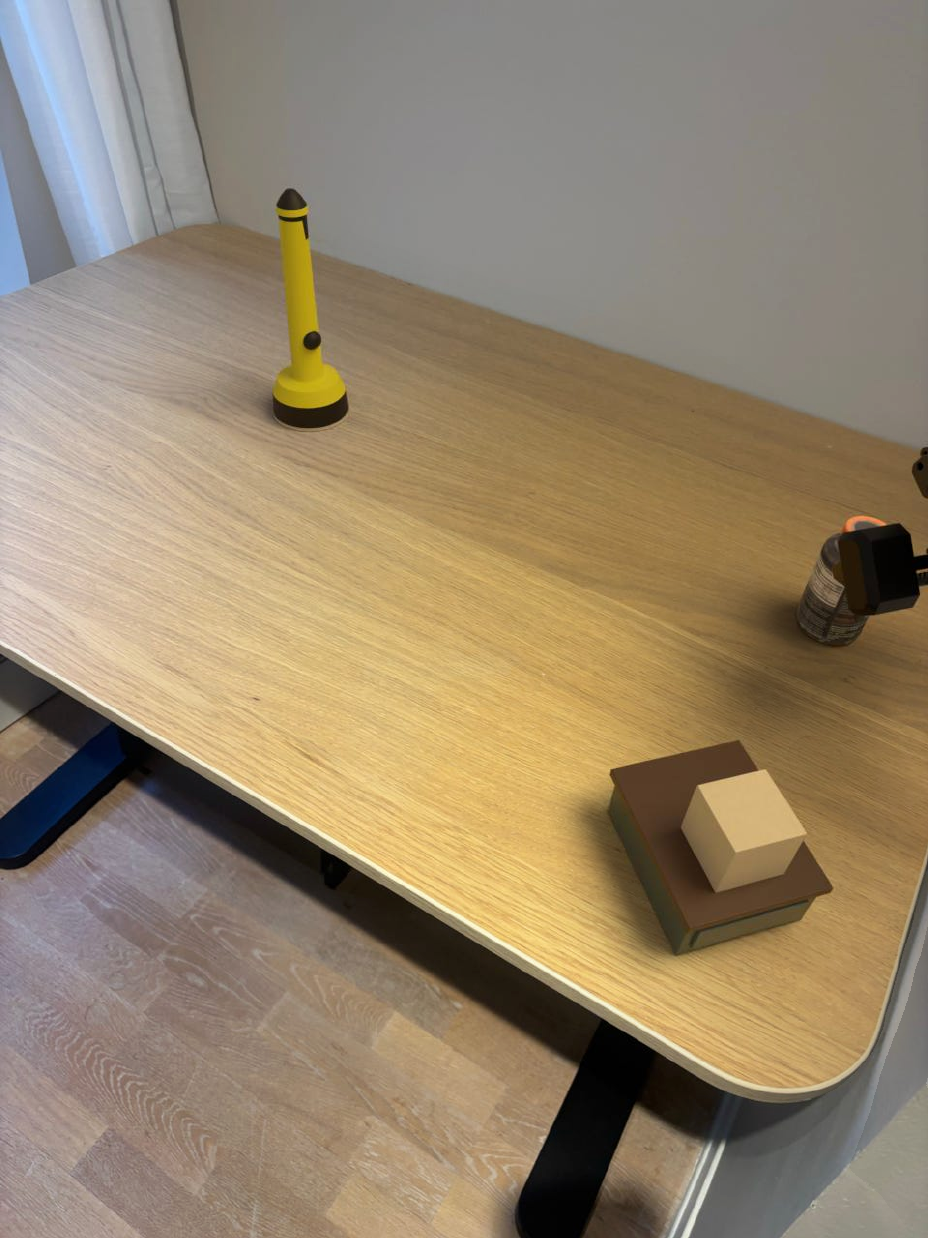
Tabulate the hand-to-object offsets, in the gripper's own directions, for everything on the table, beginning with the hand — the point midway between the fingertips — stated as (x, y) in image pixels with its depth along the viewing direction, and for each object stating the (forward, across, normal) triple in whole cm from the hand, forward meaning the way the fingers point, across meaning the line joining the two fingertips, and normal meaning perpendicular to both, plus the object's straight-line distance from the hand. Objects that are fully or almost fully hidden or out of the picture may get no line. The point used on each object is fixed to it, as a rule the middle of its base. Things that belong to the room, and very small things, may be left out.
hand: (881, 563), depth 73 cm
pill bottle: (+9, 0, +5) cm, 10 cm away
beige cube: (-10, +23, +16) cm, 30 cm away
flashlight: (+42, +40, -28) cm, 65 cm away
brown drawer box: (-5, +23, +19) cm, 30 cm away
